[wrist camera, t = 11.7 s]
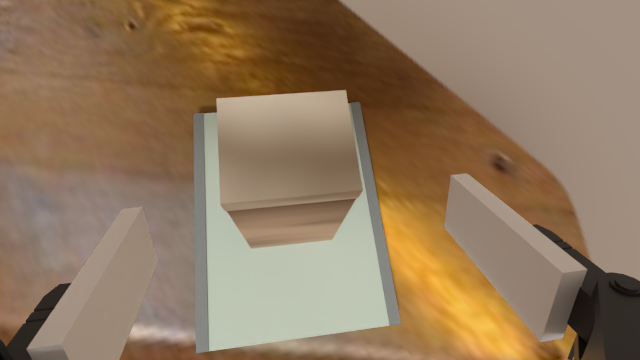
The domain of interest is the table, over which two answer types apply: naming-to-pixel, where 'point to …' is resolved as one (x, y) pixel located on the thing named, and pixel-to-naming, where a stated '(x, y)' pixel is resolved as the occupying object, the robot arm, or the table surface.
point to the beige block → (287, 166)
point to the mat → (286, 265)
